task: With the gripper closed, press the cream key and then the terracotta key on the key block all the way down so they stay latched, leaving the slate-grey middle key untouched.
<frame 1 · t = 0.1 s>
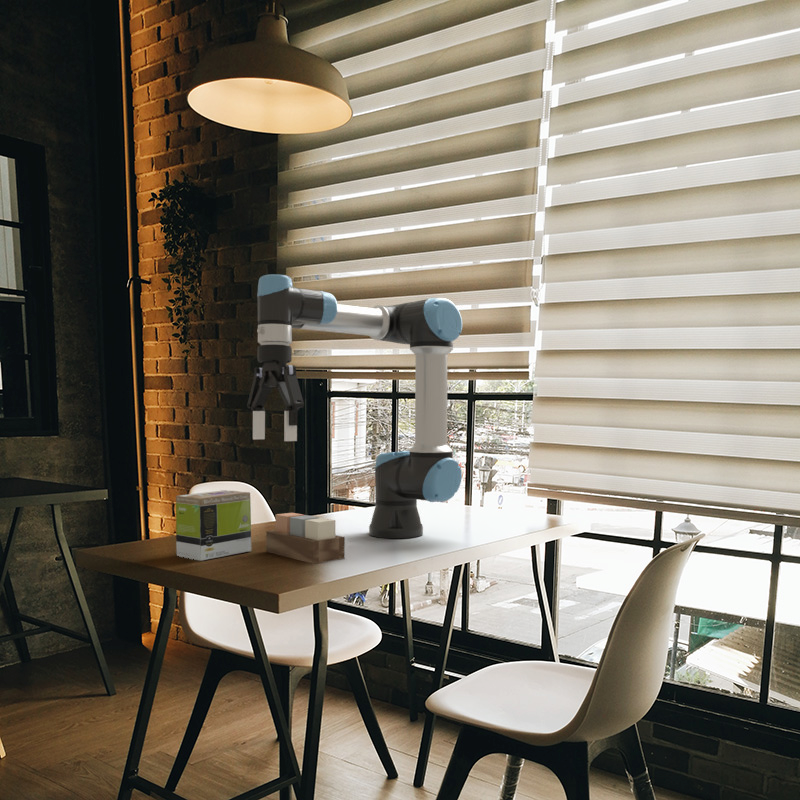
hand: (274, 440, 161), 28 cm above the table, fingers open, 13 cm apart
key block: (304, 555, 173), on the table
grey key: (304, 529, 173), point 6 cm above the table, slide at 0.0 cm
terracotta key: (289, 526, 178), point 6 cm above the table, slide at 0.0 cm
cream key: (320, 532, 169), point 6 cm above the table, slide at 0.0 cm
tea box: (213, 555, 174), on the table
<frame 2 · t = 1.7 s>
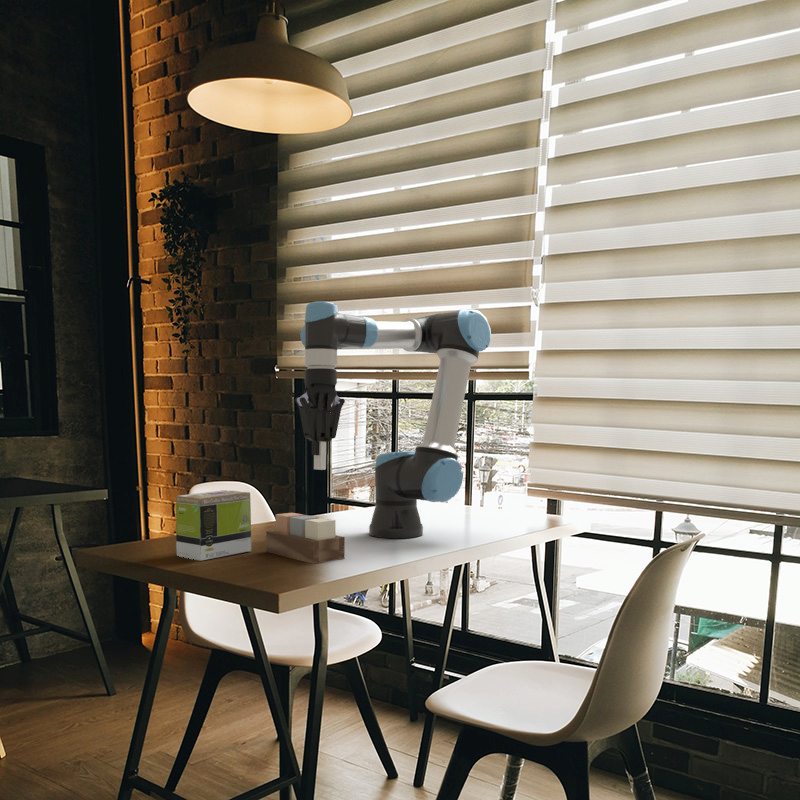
hand: (319, 469, 169), 21 cm above the table, fingers closed
nothing on the table moved.
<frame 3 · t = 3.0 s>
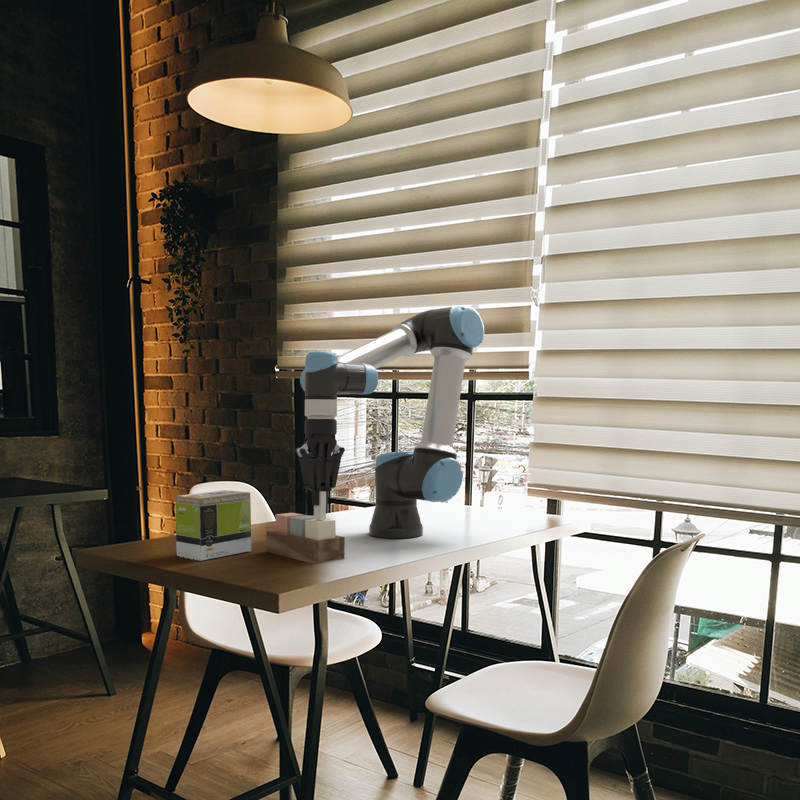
hand: (319, 519, 169), 9 cm above the table, fingers closed
cream key: (320, 532, 169), point 6 cm above the table, slide at 0.0 cm, touching gripper
everything else where it was.
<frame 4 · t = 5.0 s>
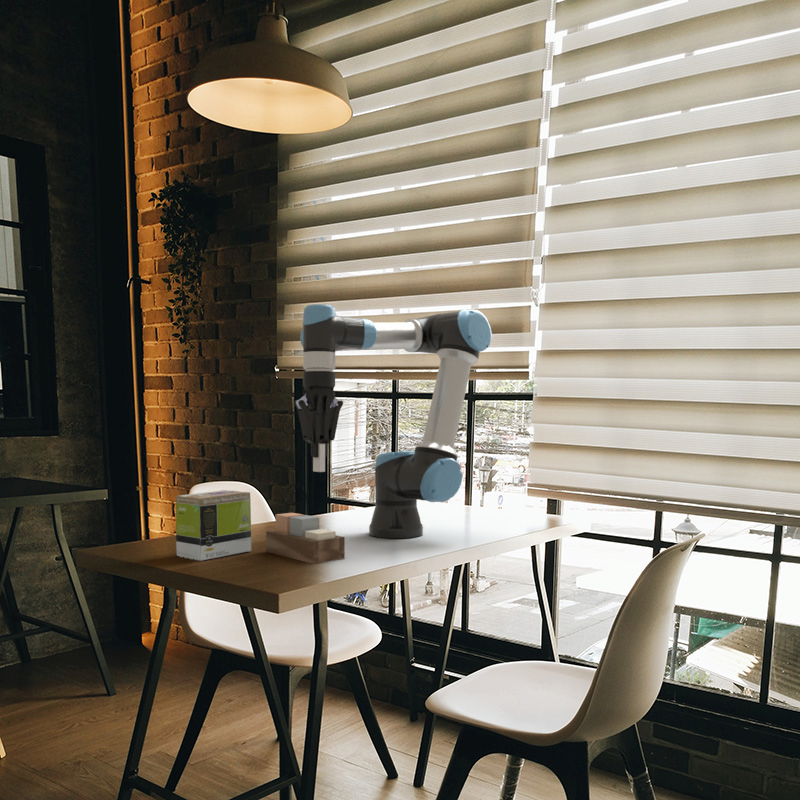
hand: (319, 471, 170), 20 cm above the table, fingers closed
cream key: (320, 543, 169), point 4 cm above the table, slide at 2.6 cm
everything else where it was.
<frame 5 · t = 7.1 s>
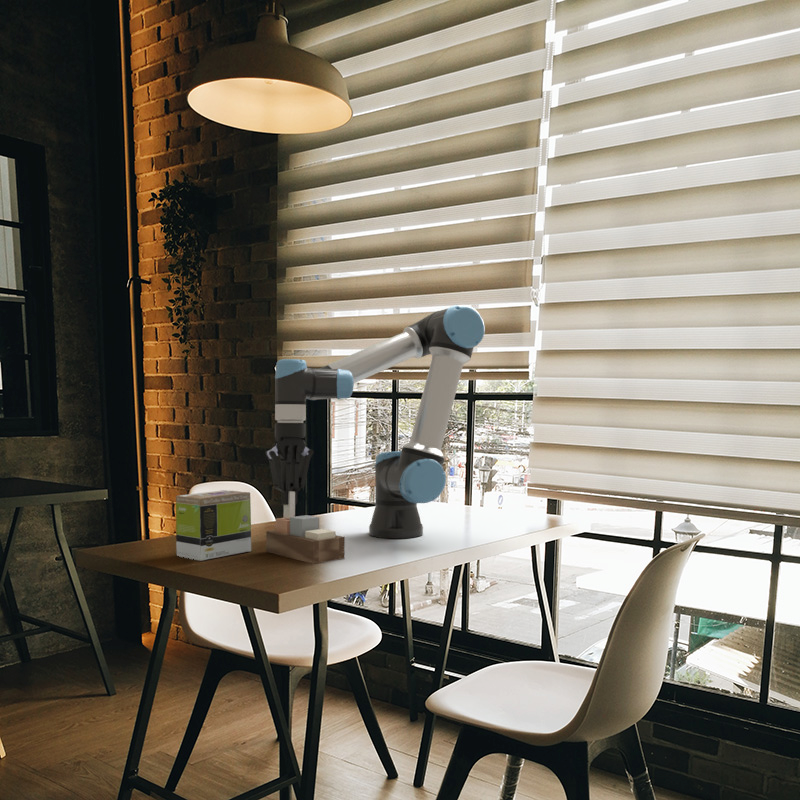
hand: (289, 517, 178), 8 cm above the table, fingers closed
terracotta key: (289, 530, 178), point 5 cm above the table, slide at 1.1 cm, touching gripper
everything else where it was.
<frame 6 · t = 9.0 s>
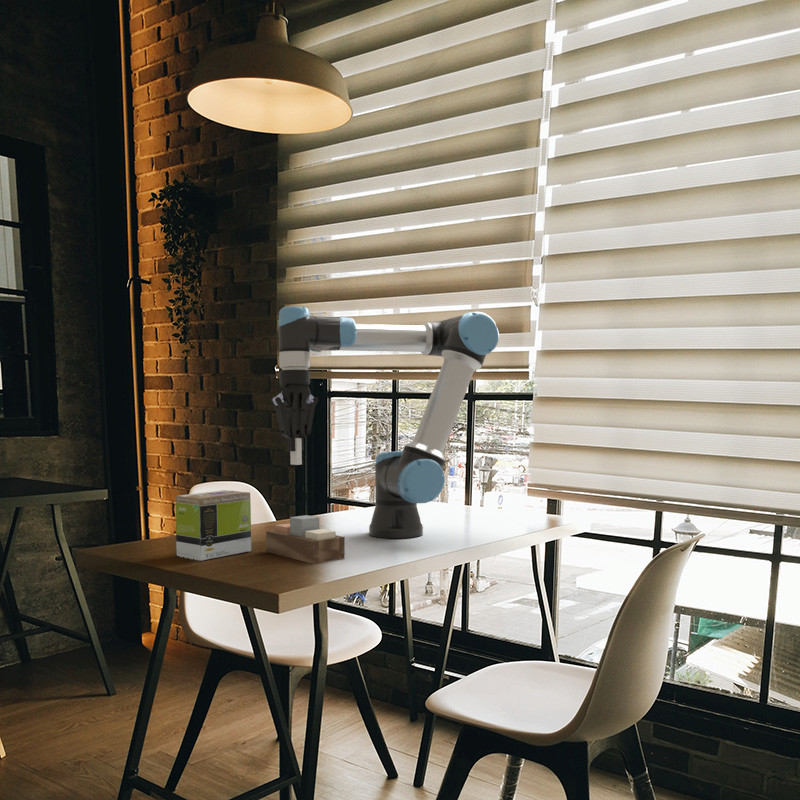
hand: (296, 464, 180), 21 cm above the table, fingers closed
terracotta key: (289, 536, 178), point 4 cm above the table, slide at 2.6 cm
everything else where it was.
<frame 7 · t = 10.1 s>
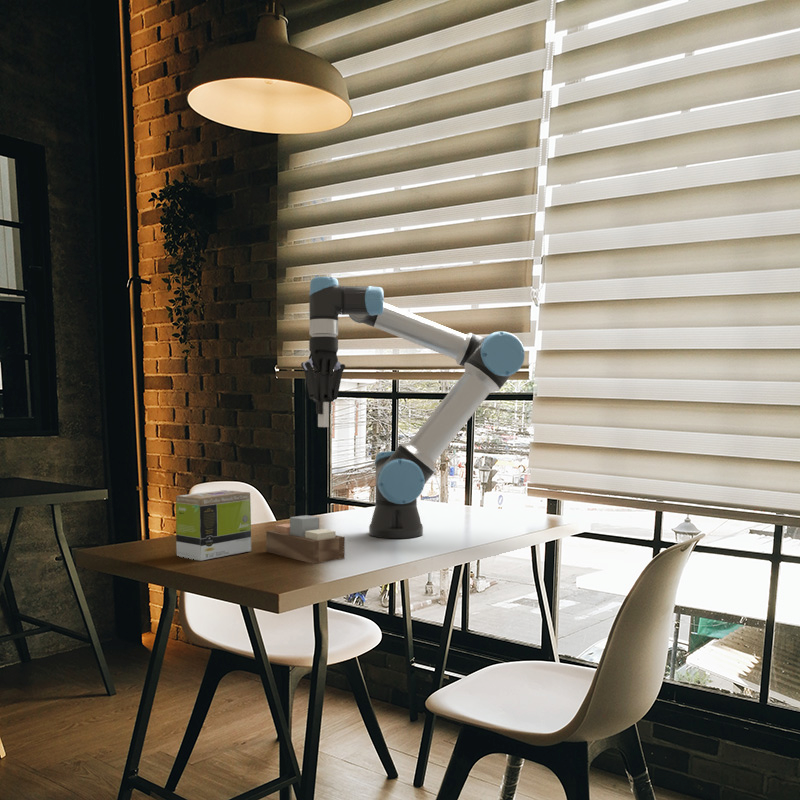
hand: (323, 426, 189), 30 cm above the table, fingers closed
nothing on the table moved.
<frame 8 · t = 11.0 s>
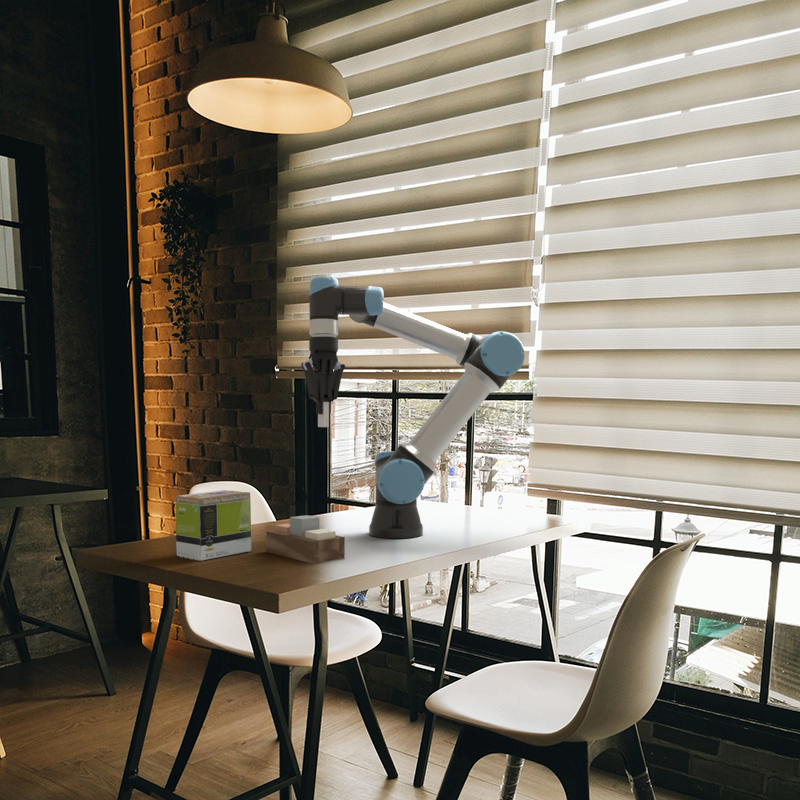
hand: (323, 426, 189), 30 cm above the table, fingers closed
nothing on the table moved.
at the end: cream key slide at 2.6 cm; terracotta key slide at 2.6 cm; grey key slide at 0.0 cm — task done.
